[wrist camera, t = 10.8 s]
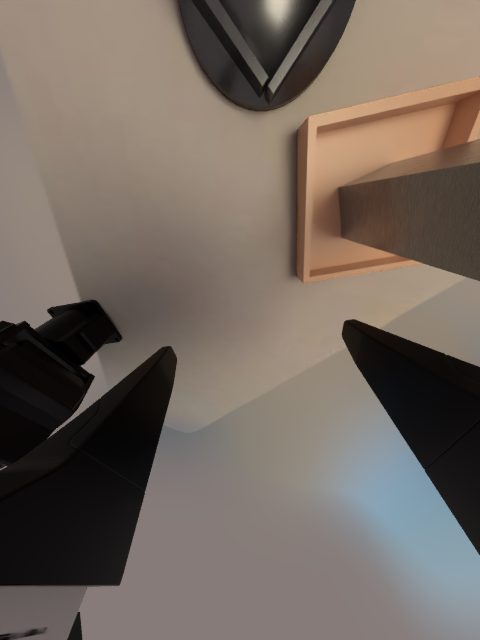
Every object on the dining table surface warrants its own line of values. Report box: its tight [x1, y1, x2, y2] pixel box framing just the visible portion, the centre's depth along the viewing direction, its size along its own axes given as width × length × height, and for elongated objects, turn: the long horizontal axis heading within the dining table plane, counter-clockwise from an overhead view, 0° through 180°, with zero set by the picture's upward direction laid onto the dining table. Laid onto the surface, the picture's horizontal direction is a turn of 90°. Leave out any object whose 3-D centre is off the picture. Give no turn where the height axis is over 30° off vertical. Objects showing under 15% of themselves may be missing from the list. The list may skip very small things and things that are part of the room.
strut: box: [338, 139, 480, 281], centre depth 11 cm, size 4×4×14 cm
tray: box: [297, 76, 480, 283], centre depth 16 cm, size 12×12×2 cm
